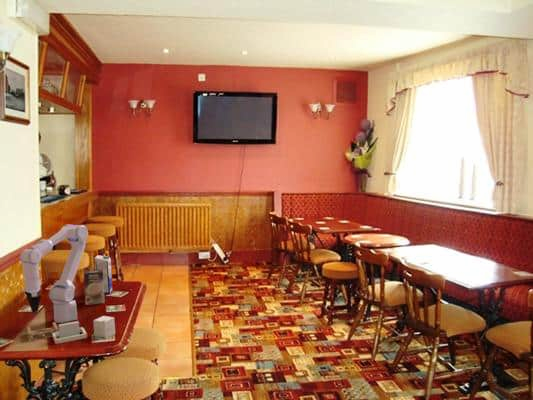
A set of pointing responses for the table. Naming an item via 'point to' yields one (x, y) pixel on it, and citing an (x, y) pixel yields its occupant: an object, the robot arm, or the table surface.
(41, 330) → the rack
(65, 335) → the block
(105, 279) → the milk carton
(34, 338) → the offcut
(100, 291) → the coffee box
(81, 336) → the tray
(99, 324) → the skincare box
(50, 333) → the offcut
